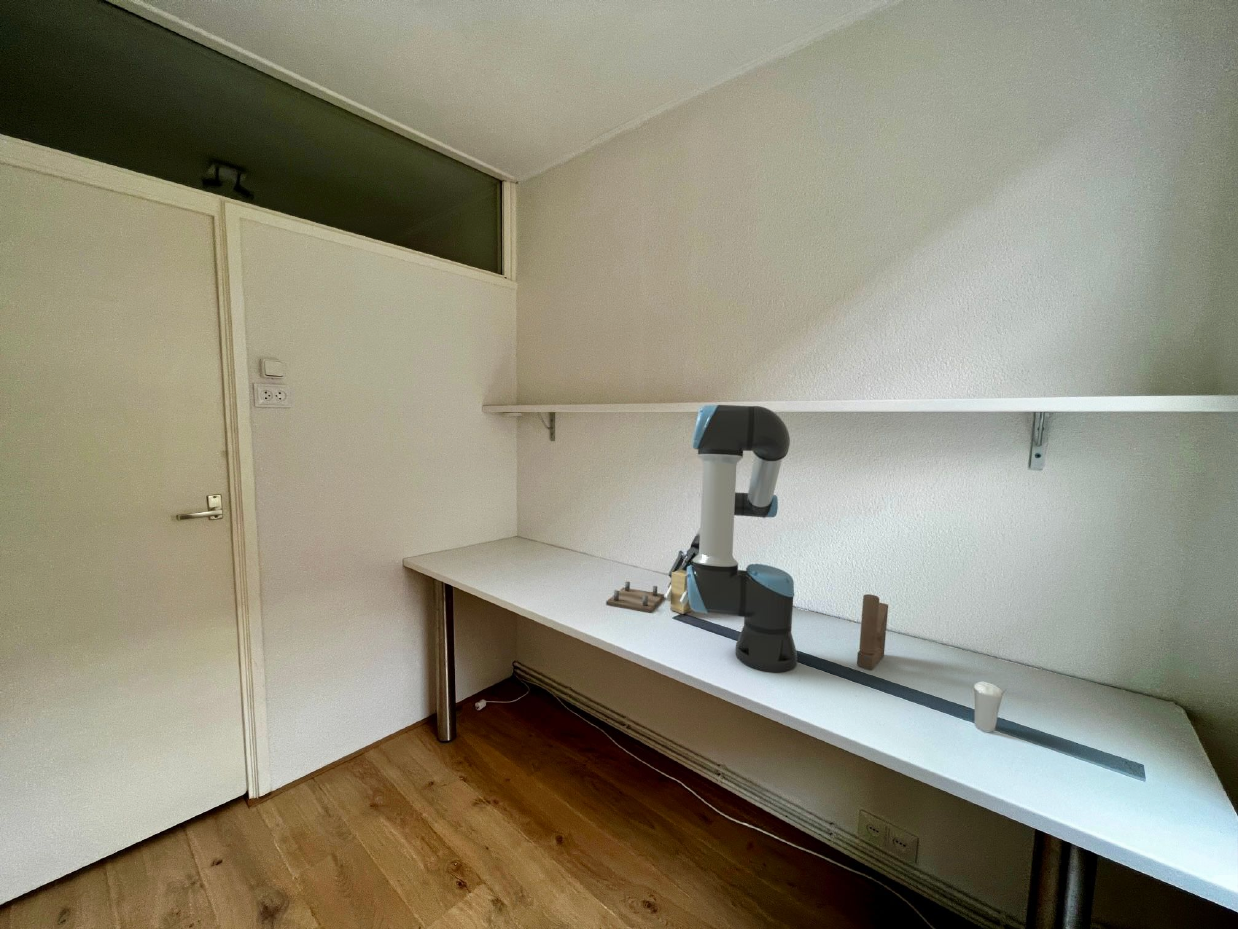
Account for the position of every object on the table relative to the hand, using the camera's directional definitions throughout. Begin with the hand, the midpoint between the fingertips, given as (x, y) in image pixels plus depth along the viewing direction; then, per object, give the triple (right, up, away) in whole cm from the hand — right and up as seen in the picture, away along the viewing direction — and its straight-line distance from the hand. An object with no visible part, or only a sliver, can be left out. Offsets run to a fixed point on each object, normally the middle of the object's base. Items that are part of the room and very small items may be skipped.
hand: (674, 601), depth 153 cm
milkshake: (+56, -11, -54) cm, 79 cm away
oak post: (+2, -4, +3) cm, 5 cm away
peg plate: (-12, -3, +10) cm, 16 cm away
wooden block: (+47, -8, -27) cm, 55 cm away
